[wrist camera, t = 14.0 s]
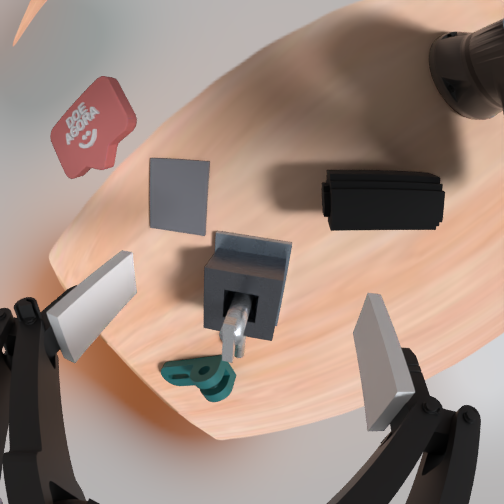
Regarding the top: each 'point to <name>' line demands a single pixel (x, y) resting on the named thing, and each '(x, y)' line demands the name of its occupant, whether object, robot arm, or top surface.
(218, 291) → the hollow square block
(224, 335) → the silver grey long piece
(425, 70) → the top surface
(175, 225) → the mat
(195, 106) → the top surface
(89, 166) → the plaque
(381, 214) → the security camera
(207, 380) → the bracket
